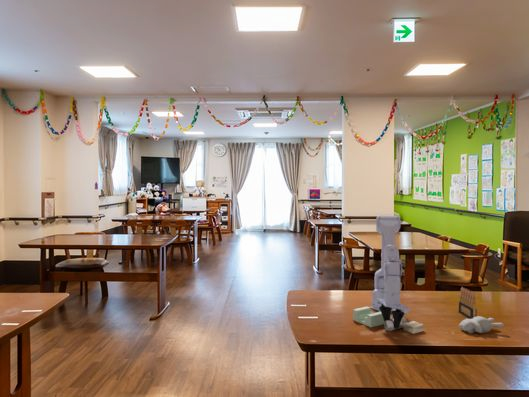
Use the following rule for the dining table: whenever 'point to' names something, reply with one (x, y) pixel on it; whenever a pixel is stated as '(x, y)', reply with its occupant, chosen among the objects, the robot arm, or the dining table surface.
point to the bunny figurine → (479, 324)
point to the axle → (390, 324)
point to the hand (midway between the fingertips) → (391, 326)
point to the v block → (367, 317)
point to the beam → (412, 326)
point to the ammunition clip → (467, 304)
